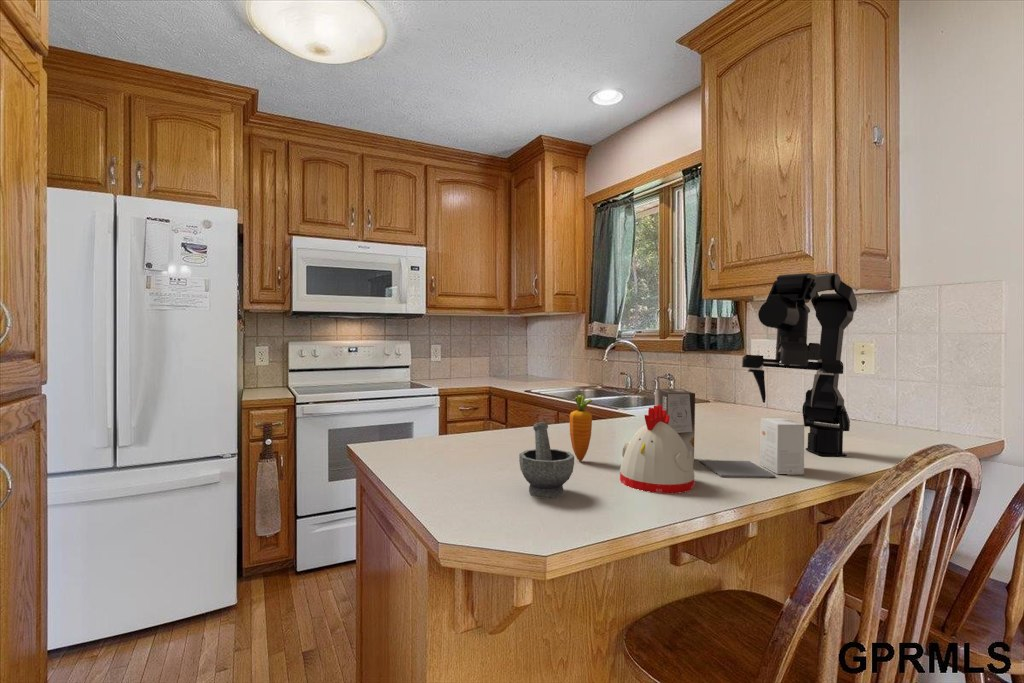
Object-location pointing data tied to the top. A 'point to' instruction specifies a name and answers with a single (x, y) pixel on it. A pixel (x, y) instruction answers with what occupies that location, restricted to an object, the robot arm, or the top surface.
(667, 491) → the kitchen timer
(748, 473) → the mat
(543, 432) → the mortar and pestle
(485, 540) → the top surface
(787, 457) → the small box
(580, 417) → the carrot
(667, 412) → the coffee box
